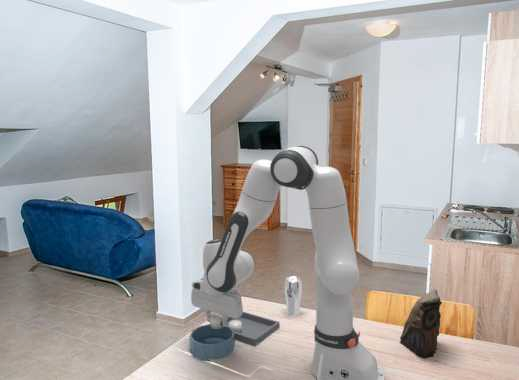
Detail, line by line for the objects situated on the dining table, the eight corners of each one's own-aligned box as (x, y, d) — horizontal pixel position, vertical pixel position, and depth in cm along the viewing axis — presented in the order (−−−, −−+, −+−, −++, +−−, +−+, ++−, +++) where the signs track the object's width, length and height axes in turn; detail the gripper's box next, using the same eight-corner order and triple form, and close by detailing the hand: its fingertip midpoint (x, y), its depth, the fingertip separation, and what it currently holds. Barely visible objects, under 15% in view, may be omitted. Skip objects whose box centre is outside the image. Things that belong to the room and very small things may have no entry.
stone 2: (244, 330, 157) (244, 322, 157) (236, 335, 153) (236, 326, 153) (234, 327, 160) (234, 318, 159) (226, 332, 156) (226, 323, 155)
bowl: (242, 345, 148) (242, 330, 147) (215, 365, 136) (215, 349, 135) (210, 334, 156) (209, 320, 155) (181, 352, 144) (181, 337, 143)
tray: (279, 329, 159) (279, 321, 159) (255, 348, 146) (255, 339, 146) (236, 316, 170) (236, 309, 170) (210, 332, 157) (210, 325, 157)
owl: (433, 339, 151) (436, 286, 148) (451, 359, 139) (455, 300, 136) (398, 341, 150) (400, 287, 147) (414, 361, 138) (417, 302, 135)
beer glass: (304, 313, 173) (304, 277, 171) (296, 319, 167) (297, 283, 165) (289, 309, 177) (289, 274, 175) (281, 315, 171) (281, 280, 169)
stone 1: (226, 325, 148) (226, 315, 147) (217, 330, 144) (217, 320, 144) (215, 321, 150) (215, 312, 150) (207, 326, 147) (207, 317, 146)
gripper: (246, 288, 142) (246, 327, 144) (200, 276, 153) (200, 313, 155) (235, 295, 137) (235, 335, 139) (188, 282, 148) (188, 319, 150)
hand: (216, 323), depth 147 cm, fingers closed on stone 1, 5 cm apart
